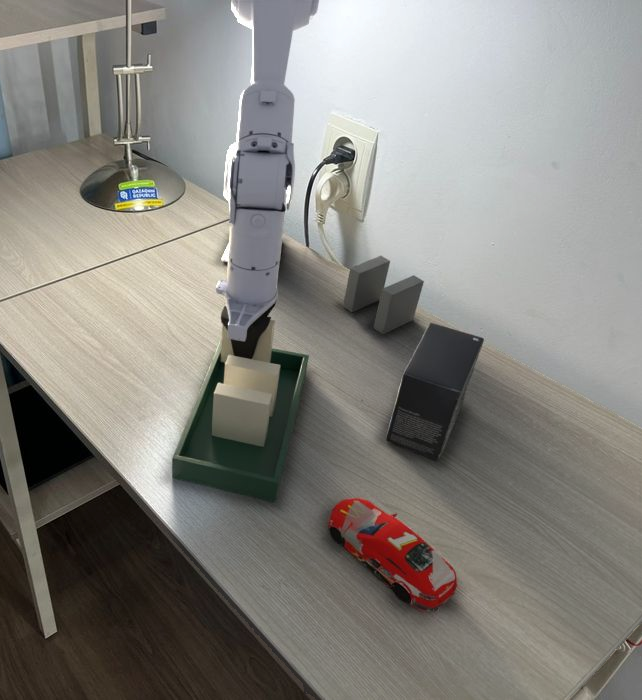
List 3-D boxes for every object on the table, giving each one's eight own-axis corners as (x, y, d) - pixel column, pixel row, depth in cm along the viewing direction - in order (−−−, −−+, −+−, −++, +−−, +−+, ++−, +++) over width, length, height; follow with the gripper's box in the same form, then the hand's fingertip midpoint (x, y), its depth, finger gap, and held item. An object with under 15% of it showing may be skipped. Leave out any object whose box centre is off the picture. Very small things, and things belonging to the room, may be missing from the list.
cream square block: (223, 353, 88) (226, 311, 83) (270, 362, 86) (275, 320, 82) (220, 361, 86) (222, 320, 82) (267, 371, 85) (272, 329, 81)
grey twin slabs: (342, 306, 99) (349, 267, 95) (372, 293, 101) (381, 255, 97) (382, 334, 94) (392, 294, 90) (413, 320, 96) (424, 281, 92)
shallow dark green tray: (219, 357, 90) (221, 338, 88) (306, 373, 87) (309, 354, 85) (171, 478, 74) (172, 458, 72) (275, 502, 72) (278, 483, 70)
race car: (315, 526, 69) (320, 500, 67) (352, 500, 72) (359, 475, 69) (422, 625, 61) (433, 600, 59) (460, 592, 64) (472, 567, 61)
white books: (225, 396, 83) (228, 354, 79) (275, 406, 82) (280, 364, 78) (211, 435, 78) (213, 393, 74) (263, 447, 77) (269, 404, 73)
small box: (408, 386, 86) (428, 318, 79) (462, 405, 83) (487, 337, 76) (381, 440, 78) (401, 370, 72) (439, 462, 76) (465, 392, 69)
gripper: (233, 221, 83) (227, 312, 91) (202, 285, 72) (198, 382, 81) (292, 230, 81) (280, 322, 90) (268, 297, 71) (257, 395, 79)
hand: (245, 351), depth 85 cm, fingers closed on cream square block, 2 cm apart
